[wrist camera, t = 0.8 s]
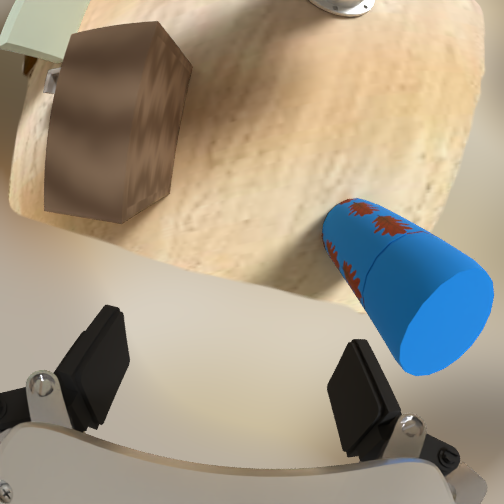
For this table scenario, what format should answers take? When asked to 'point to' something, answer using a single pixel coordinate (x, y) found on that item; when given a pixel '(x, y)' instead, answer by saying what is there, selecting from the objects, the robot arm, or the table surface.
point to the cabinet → (114, 121)
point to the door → (42, 27)
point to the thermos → (409, 284)
